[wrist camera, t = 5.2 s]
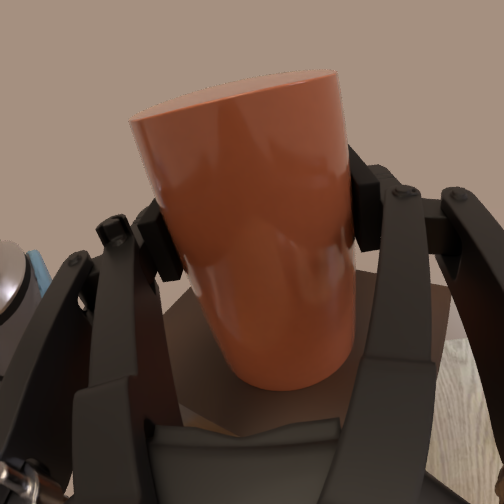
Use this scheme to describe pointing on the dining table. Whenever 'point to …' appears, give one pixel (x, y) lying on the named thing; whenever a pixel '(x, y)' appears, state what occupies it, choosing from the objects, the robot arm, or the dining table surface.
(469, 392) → the dining table surface
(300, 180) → the orange cylinder
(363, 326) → the stand
